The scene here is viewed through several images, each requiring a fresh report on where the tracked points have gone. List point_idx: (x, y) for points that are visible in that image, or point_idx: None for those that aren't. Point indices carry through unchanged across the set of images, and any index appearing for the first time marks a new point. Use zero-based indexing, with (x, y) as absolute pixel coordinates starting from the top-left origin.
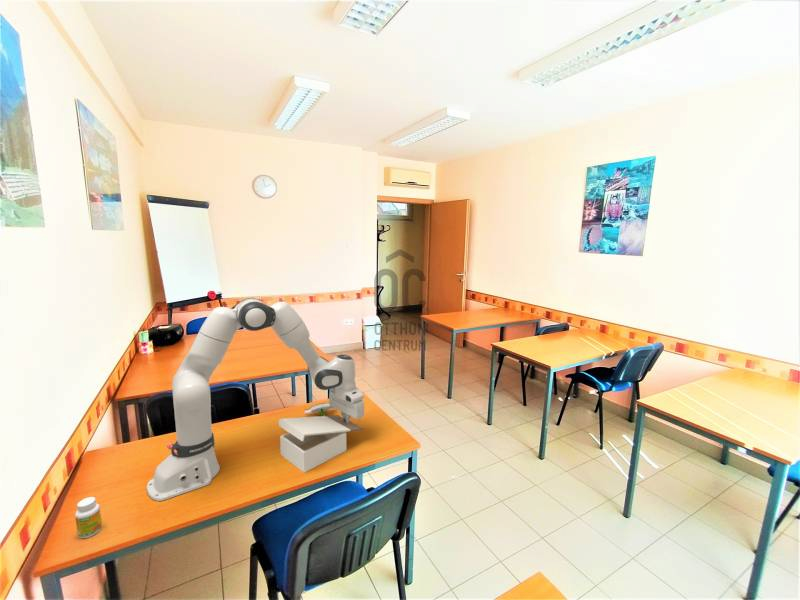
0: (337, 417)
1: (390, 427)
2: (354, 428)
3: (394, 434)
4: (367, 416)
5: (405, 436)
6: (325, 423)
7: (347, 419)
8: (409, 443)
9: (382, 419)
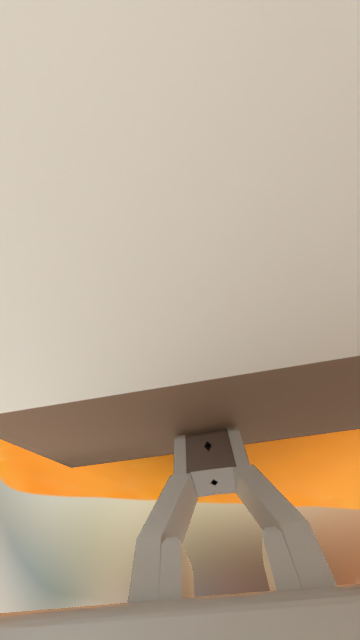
0: (335, 414)
1: (152, 490)
2: (32, 442)
3: (100, 482)
4: (281, 474)
5: (71, 495)
6: (118, 62)
7: (176, 474)
8: (21, 487)
9: (220, 495)
